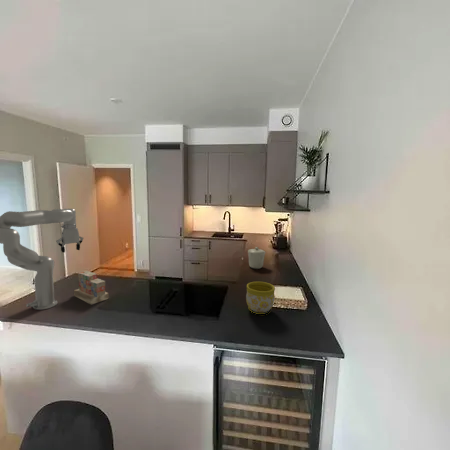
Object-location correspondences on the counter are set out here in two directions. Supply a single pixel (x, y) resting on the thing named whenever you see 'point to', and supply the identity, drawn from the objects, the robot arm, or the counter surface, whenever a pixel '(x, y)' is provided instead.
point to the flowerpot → (260, 297)
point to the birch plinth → (90, 297)
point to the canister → (256, 258)
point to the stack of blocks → (91, 283)
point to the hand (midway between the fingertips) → (70, 251)
